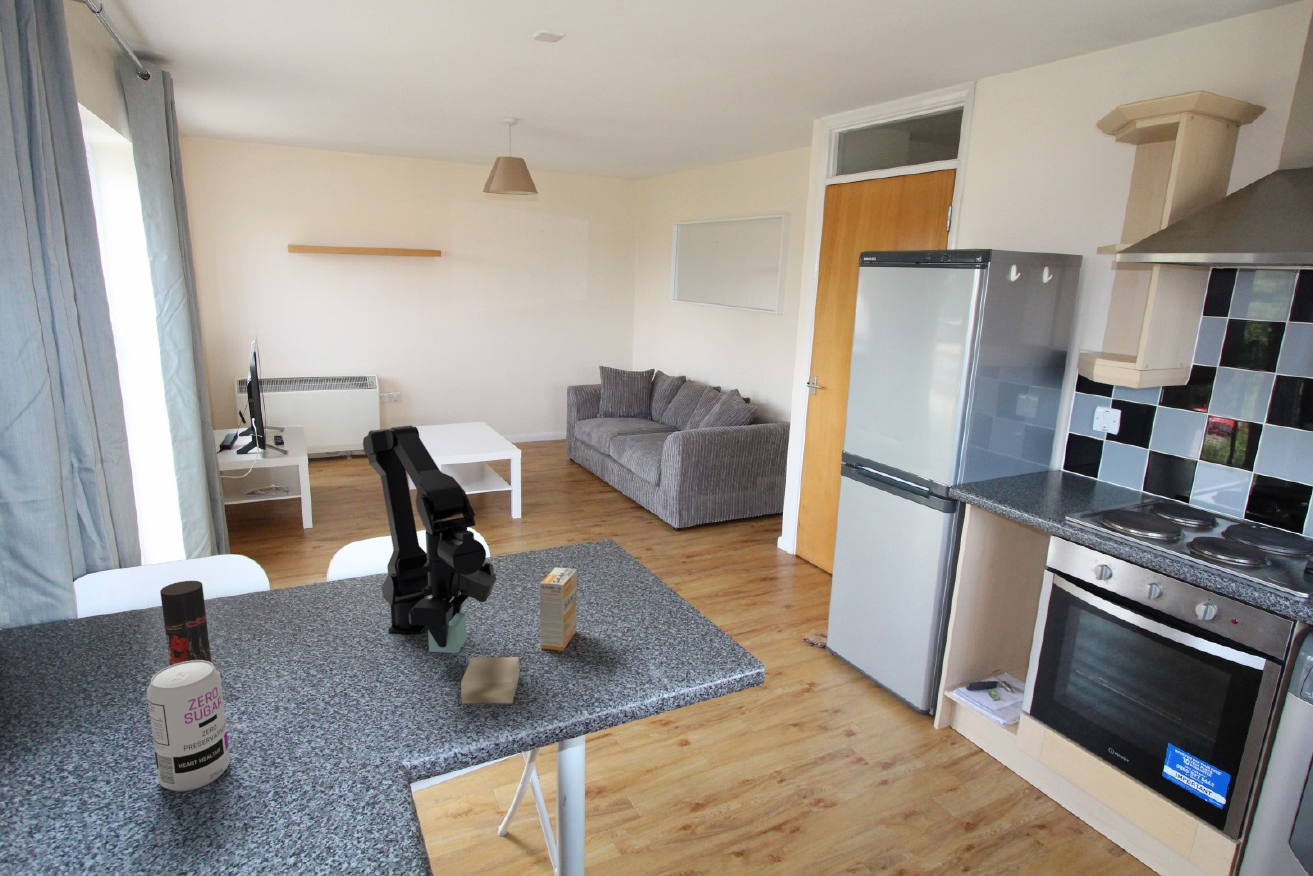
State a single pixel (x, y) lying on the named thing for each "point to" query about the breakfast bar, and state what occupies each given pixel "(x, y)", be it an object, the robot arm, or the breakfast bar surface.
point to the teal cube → (451, 635)
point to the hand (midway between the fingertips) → (447, 639)
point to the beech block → (490, 680)
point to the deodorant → (185, 622)
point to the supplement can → (188, 725)
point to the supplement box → (558, 608)
